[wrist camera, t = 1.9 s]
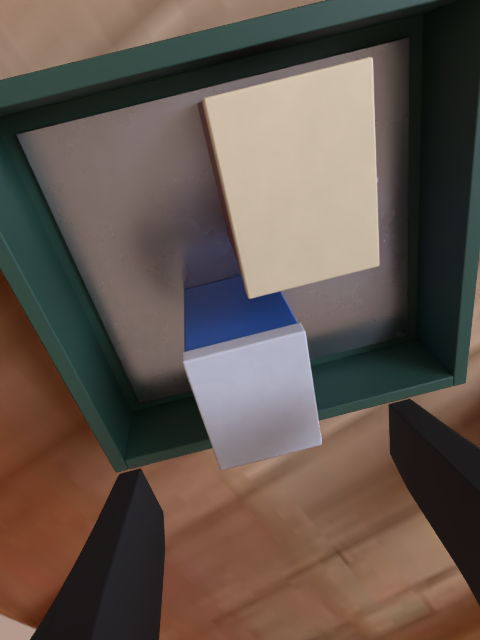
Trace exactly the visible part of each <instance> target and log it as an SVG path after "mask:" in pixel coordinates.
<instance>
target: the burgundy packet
mask: <svg viewBox="0 0 480 640" xmlns="http://www.w3.org/2000/svg"><path fill="white" fill-rule="evenodd" d="M197 105H198V110H199V114H200V118H201V122H202V127H203V131H204V135H205V139H206V144H207V148H208V152H209V156H210V161H211V165H212V169H213V173H214V178H215V182H216V186H217V190H218V195H219V199H220V203H221V207H222V212H223V216H224V220H225V224H226V229H227V233H228V237H229V241H230V244H231V246H232V249H233V252H234V255H235V258H236V260H237V263H238V266H239V269H240V272H241V274H242V278H243V283H244V287H245V291H246V294H247V297H248V298H249V299H251V298H255V297H259V296H263V295H267V294H271V293H275V292H279V291H283V290H287V289H291V288H295V287H299V286H303V285H307V284H311V283H315V282H319V281H323V280H327V279H331V278H334V277H338V276H342V275H346V274H350V273H354V272H358V271H362V270H366V269H370V268H374V267H378V266H379V265H380V262H379V231H378V200H377V169H376V138H375V107H374V76H373V58H372V57H368V58H364V59H360V60H356V61H352V62H348V63H344V64H340V65H335V66H331V67H327V68H323V69H319V70H315V71H311V72H307V73H303V74H299V75H295V76H291V77H287V78H283V79H279V80H275V81H271V82H267V83H263V84H259V85H255V86H250V87H246V88H242V89H238V90H234V91H230V92H226V93H222V94H218V95H214V96H210V97H206V98H204V99H203V100H202V102H199V103H198V104H197Z"/></svg>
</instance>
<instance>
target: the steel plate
mask: <svg viewBox="0 0 480 640" xmlns="http://www.w3.org/2000/svg"><path fill="white" fill-rule="evenodd" d="M368 57H372V58H373V76H374V107H375V138H376V169H377V200H378V231H379V262H380V265H379V266H378V267H374V268H370V269H366V270H362V271H358V272H354V273H350V274H346V275H342V276H338V277H334V278H331V279H327V280H323V281H319V282H315V283H311V284H307V285H303V286H299V287H295V288H291V289H287V290H283V291H281V292H282V294H283V296H284V298H285V299H286V301H287V303H288V305H289V307H290V309H291V310H292V312H293V314H294V316H295V318H296V320H297V322H298V323H301V324H302V326H303V328H304V330H305V332H306V338H307V345H308V352H309V358H310V360H314V359H318V358H322V357H326V356H330V355H333V354H337V353H341V352H345V351H349V350H353V349H357V348H361V347H365V346H369V345H373V344H377V343H381V342H384V341H388V340H392V339H396V338H400V337H404V336H407V332H408V201H409V70H410V37H406V38H402V39H398V40H394V41H390V42H385V43H381V44H377V45H373V46H369V47H365V48H361V49H357V50H353V51H349V52H345V53H341V54H337V55H333V56H329V57H325V58H321V59H317V60H313V61H308V62H304V63H300V64H296V65H292V66H288V67H284V68H280V69H276V70H272V71H268V72H264V73H260V74H256V75H252V76H248V77H244V78H240V79H236V80H231V81H227V82H223V83H219V84H215V85H211V86H207V87H203V88H199V89H195V90H191V91H187V92H183V93H179V94H175V95H171V96H167V97H163V98H158V99H154V100H150V101H146V102H142V103H138V104H134V105H130V106H126V107H122V108H118V109H114V110H110V111H106V112H102V113H98V114H94V115H90V116H86V117H81V118H77V119H73V120H69V121H65V122H61V123H57V124H53V125H49V126H45V127H41V128H37V129H33V130H29V131H25V132H21V133H17V134H16V136H17V138H18V140H19V142H20V144H21V146H22V149H23V151H24V153H25V155H26V157H27V160H28V162H29V164H30V166H31V168H32V170H33V173H34V175H35V177H36V179H37V181H38V184H39V186H40V188H41V190H42V192H43V194H44V197H45V199H46V201H47V203H48V205H49V208H50V210H51V212H52V214H53V216H54V218H55V221H56V223H57V225H58V227H59V229H60V232H61V234H62V236H63V238H64V240H65V242H66V245H67V247H68V249H69V251H70V253H71V256H72V258H73V260H74V262H75V264H76V266H77V269H78V271H79V273H80V275H81V277H82V280H83V282H84V284H85V286H86V288H87V290H88V293H89V295H90V297H91V299H92V301H93V304H94V306H95V308H96V310H97V312H98V314H99V317H100V319H101V321H102V323H103V325H104V328H105V330H106V332H107V334H108V336H109V338H110V341H111V343H112V345H113V347H114V349H115V352H116V354H117V356H118V358H119V360H120V362H121V365H122V367H123V369H124V371H125V373H126V376H127V378H128V380H129V382H130V384H131V386H132V389H133V391H134V393H135V395H136V397H137V400H138V402H139V404H141V403H145V402H149V401H153V400H157V399H161V398H165V397H169V396H173V395H177V394H181V393H185V392H188V391H192V389H191V386H190V383H189V381H188V378H187V375H186V372H185V369H184V367H183V364H182V353H183V352H184V290H187V289H191V288H195V287H199V286H203V285H206V284H210V283H214V282H218V281H222V280H226V279H230V278H234V277H238V276H242V274H241V272H240V269H239V266H238V263H237V260H236V258H235V255H234V252H233V249H232V246H231V244H230V241H229V237H228V233H227V229H226V224H225V220H224V216H223V212H222V207H221V203H220V199H219V195H218V190H217V186H216V182H215V178H214V173H213V169H212V165H211V161H210V156H209V152H208V148H207V144H206V139H205V135H204V131H203V127H202V122H201V118H200V114H199V110H198V105H197V104H198V103H199V102H202V100H203V99H204V98H206V97H210V96H214V95H218V94H222V93H226V92H230V91H234V90H238V89H242V88H246V87H250V86H255V85H259V84H263V83H267V82H271V81H275V80H279V79H283V78H287V77H291V76H295V75H299V74H303V73H307V72H311V71H315V70H319V69H323V68H327V67H331V66H335V65H340V64H344V63H348V62H352V61H356V60H360V59H364V58H368Z"/></svg>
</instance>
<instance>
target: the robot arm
mask: <svg viewBox="0 0 480 640" xmlns="http://www.w3.org/2000/svg"><path fill="white" fill-rule="evenodd" d="M389 434H390V454H391V456H392V459H393V461H394V463H395V465H396V467H397V469H398V471H399V473H400V475H401V477H402V479H403V481H404V483H405V485H406V487H407V488H408V490H409V492H410V493H411V495H412V497H413V498H414V500H415V501H416V503H417V504H418V506H419V508H420V509H421V511H422V512H423V514H424V515H425V517H426V519H427V520H428V522H429V523H430V525H431V526H432V528H433V529H434V531H435V533H436V534H437V536H438V537H439V539H440V540H441V542H442V543H443V545H444V547H445V548H446V550H447V551H448V553H449V554H450V556H451V557H452V559H453V561H454V562H455V564H456V565H457V567H458V568H459V570H460V572H461V574H462V575H463V577H464V579H465V580H466V582H467V584H468V585H469V587H470V589H471V591H472V593H473V595H474V597H475V598H476V600H477V602H478V604H479V606H480V448H479V447H477V446H476V445H474V444H473V443H471V442H470V441H468V440H467V439H465V438H464V437H462V436H461V435H460V434H458V433H457V432H455V431H454V430H452V429H451V428H450V427H448V426H447V425H445V424H444V423H443V422H441V421H440V420H438V419H437V418H436V417H434V416H433V415H432V414H430V413H429V412H427V411H426V410H425V409H423V408H422V407H421V406H419V405H418V404H417V403H415V402H414V401H412V400H411V399H407V400H403V401H400V402H396V403H392V404H389ZM164 559H165V535H164V514H163V511H162V509H161V507H160V505H159V503H158V501H157V499H156V497H155V495H154V493H153V491H152V489H151V487H150V485H149V483H148V481H147V479H146V477H145V476H144V474H143V472H142V470H141V469H137V470H133V471H129V472H125V473H122V474H119V476H118V477H117V479H116V482H115V484H114V486H113V488H112V490H111V492H110V494H109V497H108V499H107V501H106V503H105V505H104V507H103V509H102V511H101V513H100V515H99V517H98V520H97V522H96V524H95V526H94V528H93V530H92V532H91V534H90V536H89V537H88V539H87V541H86V543H85V545H84V547H83V549H82V551H81V553H80V555H79V557H78V559H77V561H76V563H75V564H74V566H73V568H72V570H71V572H70V573H69V575H68V577H67V579H66V581H65V582H64V584H63V586H62V588H61V589H60V591H59V593H58V595H57V597H56V598H55V600H54V602H53V603H52V605H51V607H50V608H49V610H48V612H47V613H46V615H45V617H44V618H43V620H42V622H41V623H40V625H39V626H38V628H37V630H36V631H35V633H34V634H33V636H32V637H31V639H30V640H159V632H160V618H161V604H162V590H163V575H164Z"/></svg>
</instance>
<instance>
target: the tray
mask: <svg viewBox="0 0 480 640" xmlns="http://www.w3.org/2000/svg"><path fill="white" fill-rule="evenodd" d="M406 37H410V70H409V201H408V332H407V336H404V337H400V338H396V339H392V340H388V341H384V342H381V343H377V344H373V345H369V346H365V347H361V348H357V349H353V350H349V351H345V352H341V353H337V354H333V355H330V356H326V357H322V358H318V359H314V360H310V365H311V372H312V378H313V385H314V391H315V398H316V405H317V411H318V418H319V420H323V419H327V418H331V417H335V416H339V415H342V414H346V413H350V412H354V411H358V410H362V409H366V408H370V407H374V406H377V405H381V404H385V403H389V402H393V401H397V400H401V399H405V398H409V397H412V396H416V395H420V394H424V393H428V392H432V391H436V390H440V389H444V388H448V387H451V386H456V385H460V384H464V383H466V374H467V365H468V355H469V346H470V337H471V327H472V318H473V308H474V299H475V289H476V280H477V270H478V261H479V252H480V0H325V1H321V2H317V3H313V4H309V5H305V6H301V7H297V8H293V9H289V10H285V11H281V12H276V13H272V14H268V15H264V16H260V17H256V18H252V19H248V20H244V21H240V22H236V23H232V24H228V25H223V26H219V27H215V28H211V29H207V30H203V31H199V32H195V33H191V34H187V35H183V36H179V37H174V38H170V39H166V40H162V41H158V42H154V43H150V44H146V45H142V46H138V47H134V48H130V49H126V50H121V51H117V52H113V53H109V54H105V55H101V56H97V57H93V58H89V59H85V60H81V61H77V62H72V63H68V64H64V65H60V66H56V67H52V68H48V69H44V70H40V71H36V72H32V73H28V74H24V75H19V76H15V77H11V78H7V79H3V80H0V269H1V271H2V273H3V274H4V276H5V278H6V280H7V282H8V283H9V285H10V287H11V289H12V290H13V292H14V294H15V296H16V297H17V299H18V301H19V303H20V304H21V306H22V308H23V310H24V311H25V313H26V315H27V317H28V319H29V320H30V322H31V324H32V326H33V327H34V329H35V331H36V333H37V334H38V336H39V338H40V340H41V341H42V343H43V345H44V347H45V349H46V350H47V352H48V354H49V356H50V357H51V359H52V361H53V363H54V364H55V366H56V368H57V370H58V371H59V373H60V375H61V377H62V378H63V380H64V382H65V384H66V386H67V387H68V389H69V391H70V393H71V394H72V396H73V398H74V400H75V401H76V403H77V405H78V407H79V408H80V410H81V412H82V414H83V415H84V417H85V419H86V421H87V423H88V424H89V426H90V428H91V430H92V431H93V433H94V435H95V437H96V438H97V440H98V442H99V444H100V445H101V447H102V449H103V451H104V452H105V454H106V456H107V458H108V460H109V461H110V463H111V465H112V467H113V468H114V470H115V472H121V471H125V470H128V468H129V469H132V468H136V467H140V466H144V465H148V464H152V463H156V462H159V461H163V460H167V459H171V458H175V457H179V456H183V455H187V454H191V453H194V452H198V451H202V450H206V449H210V448H212V445H211V442H210V439H209V436H208V434H207V431H206V428H205V425H204V422H203V420H202V417H201V414H200V411H199V408H198V406H197V403H196V400H195V397H194V395H193V392H192V391H188V392H185V393H181V394H177V395H173V396H169V397H165V398H161V399H157V400H153V401H149V402H145V403H141V404H139V402H138V400H137V397H136V395H135V393H134V391H133V389H132V386H131V384H130V382H129V380H128V378H127V376H126V373H125V371H124V369H123V367H122V365H121V362H120V360H119V358H118V356H117V354H116V352H115V349H114V347H113V345H112V343H111V341H110V338H109V336H108V334H107V332H106V330H105V328H104V325H103V323H102V321H101V319H100V317H99V314H98V312H97V310H96V308H95V306H94V304H93V301H92V299H91V297H90V295H89V293H88V290H87V288H86V286H85V284H84V282H83V280H82V277H81V275H80V273H79V271H78V269H77V266H76V264H75V262H74V260H73V258H72V256H71V253H70V251H69V249H68V247H67V245H66V242H65V240H64V238H63V236H62V234H61V232H60V229H59V227H58V225H57V223H56V221H55V218H54V216H53V214H52V212H51V210H50V208H49V205H48V203H47V201H46V199H45V197H44V194H43V192H42V190H41V188H40V186H39V184H38V181H37V179H36V177H35V175H34V173H33V170H32V168H31V166H30V164H29V162H28V160H27V157H26V155H25V153H24V151H23V149H22V146H21V144H20V142H19V140H18V138H17V136H16V134H17V133H21V132H25V131H29V130H33V129H37V128H41V127H45V126H49V125H53V124H57V123H61V122H65V121H69V120H73V119H77V118H81V117H86V116H90V115H94V114H98V113H102V112H106V111H110V110H114V109H118V108H122V107H126V106H130V105H134V104H138V103H142V102H146V101H150V100H154V99H158V98H163V97H167V96H171V95H175V94H179V93H183V92H187V91H191V90H195V89H199V88H203V87H207V86H211V85H215V84H219V83H223V82H227V81H231V80H236V79H240V78H244V77H248V76H252V75H256V74H260V73H264V72H268V71H272V70H276V69H280V68H284V67H288V66H292V65H296V64H300V63H304V62H308V61H313V60H317V59H321V58H325V57H329V56H333V55H337V54H341V53H345V52H349V51H353V50H357V49H361V48H365V47H369V46H373V45H377V44H381V43H385V42H390V41H394V40H398V39H402V38H406Z"/></svg>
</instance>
